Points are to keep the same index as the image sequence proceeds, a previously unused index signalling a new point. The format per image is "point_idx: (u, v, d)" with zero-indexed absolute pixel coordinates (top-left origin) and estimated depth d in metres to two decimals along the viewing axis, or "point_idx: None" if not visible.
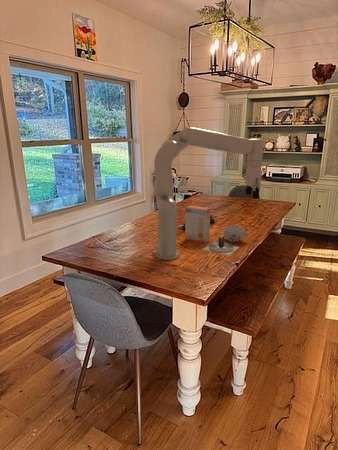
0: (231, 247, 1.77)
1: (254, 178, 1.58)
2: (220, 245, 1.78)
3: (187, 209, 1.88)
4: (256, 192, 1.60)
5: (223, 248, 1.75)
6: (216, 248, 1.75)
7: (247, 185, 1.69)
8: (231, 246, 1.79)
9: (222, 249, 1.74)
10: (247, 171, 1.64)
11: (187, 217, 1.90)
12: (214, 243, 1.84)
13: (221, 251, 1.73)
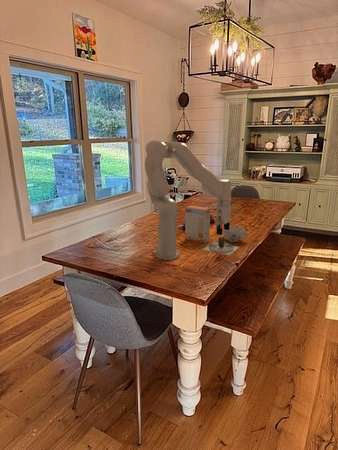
0: (231, 247, 1.77)
1: None
2: (220, 245, 1.78)
3: (187, 209, 1.88)
4: None
5: (223, 248, 1.75)
6: (216, 248, 1.75)
7: None
8: (231, 246, 1.79)
9: (222, 249, 1.74)
10: (226, 210, 1.70)
11: (187, 217, 1.90)
12: (214, 243, 1.84)
13: (221, 251, 1.73)
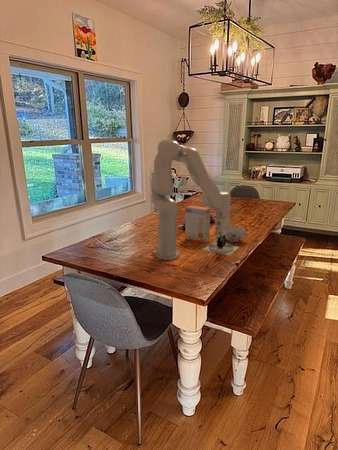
0: (231, 247, 1.77)
1: None
2: None
3: (187, 209, 1.88)
4: None
5: (223, 248, 1.75)
6: (216, 248, 1.75)
7: None
8: (231, 246, 1.79)
9: (222, 249, 1.74)
10: (225, 223, 1.72)
11: (187, 217, 1.90)
12: (214, 242, 1.84)
13: (221, 251, 1.73)
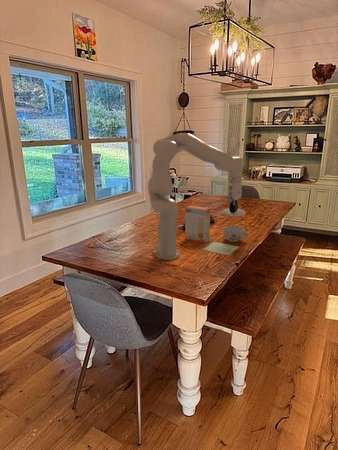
0: (243, 212, 1.80)
1: None
2: None
3: (187, 209, 1.88)
4: None
5: (236, 213, 1.78)
6: (229, 213, 1.78)
7: (234, 202, 1.78)
8: (243, 211, 1.81)
9: (235, 213, 1.77)
10: (237, 187, 1.75)
11: (187, 217, 1.90)
12: (226, 209, 1.87)
13: (234, 215, 1.76)
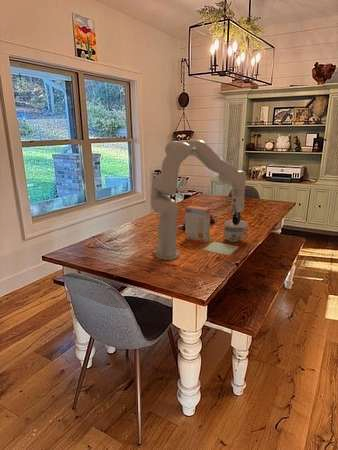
0: (246, 223, 1.86)
1: None
2: None
3: (187, 209, 1.88)
4: None
5: (239, 224, 1.84)
6: (232, 225, 1.84)
7: (237, 214, 1.84)
8: (246, 222, 1.87)
9: (238, 225, 1.83)
10: (241, 200, 1.81)
11: (187, 217, 1.90)
12: (229, 220, 1.93)
13: (237, 227, 1.82)
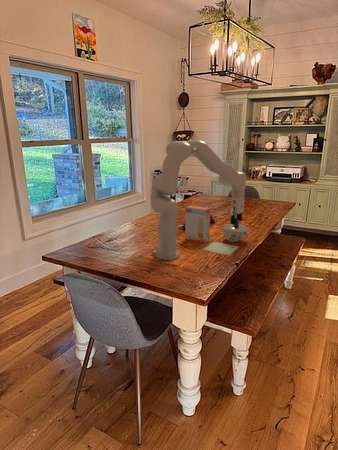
0: (245, 228, 1.86)
1: None
2: (235, 226, 1.87)
3: (187, 209, 1.88)
4: None
5: (238, 229, 1.85)
6: (232, 229, 1.84)
7: None
8: (245, 227, 1.88)
9: (237, 229, 1.83)
10: (240, 201, 1.81)
11: (187, 217, 1.90)
12: (229, 224, 1.93)
13: (236, 231, 1.82)
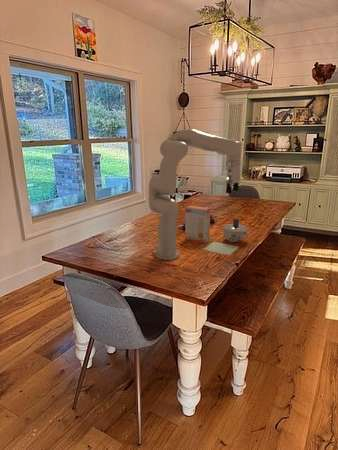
0: (245, 228, 1.86)
1: None
2: (235, 226, 1.87)
3: (187, 209, 1.88)
4: None
5: (238, 229, 1.85)
6: (231, 229, 1.84)
7: (231, 184, 1.84)
8: (245, 227, 1.88)
9: (237, 229, 1.84)
10: (236, 170, 1.83)
11: (187, 217, 1.90)
12: (229, 224, 1.93)
13: (236, 231, 1.82)
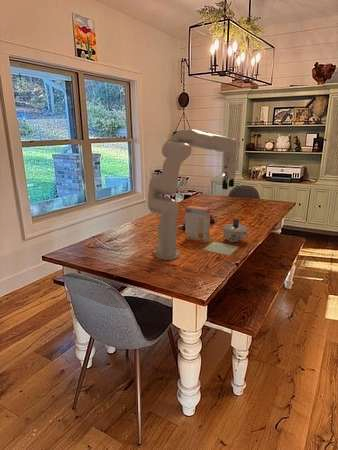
0: (245, 228, 1.86)
1: None
2: (235, 226, 1.87)
3: (187, 209, 1.88)
4: None
5: (238, 229, 1.85)
6: (231, 229, 1.84)
7: (227, 180, 1.89)
8: (245, 227, 1.88)
9: (237, 229, 1.84)
10: (232, 167, 1.88)
11: (187, 217, 1.90)
12: (229, 224, 1.93)
13: (236, 231, 1.82)
